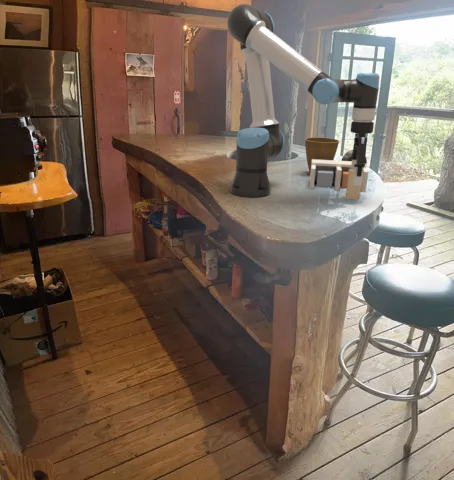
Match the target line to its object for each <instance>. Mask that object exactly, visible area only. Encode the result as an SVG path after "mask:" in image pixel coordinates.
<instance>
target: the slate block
mask: <svg viewBox="0 0 454 480" xmlns="http://www.w3.org/2000/svg"><path fill="white" fill-rule="evenodd" d="M332 180H333V170H318V173H317V181H316V183H317V184H316V187H317V188H328V187H329V188H332V187H333V182H332Z"/></svg>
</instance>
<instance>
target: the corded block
mask: <svg viewBox="0 0 454 480" xmlns="http://www.w3.org/2000/svg"><path fill="white" fill-rule="evenodd" d="M354 174H355V169H349V171H343V172H342V180H341V183H340V188H341V189H344V190H345V189H346V191H345V198H346V199H349V200H351V199H352V200H360V196H361V195H360V194H361V186H358V185H353V183H354Z"/></svg>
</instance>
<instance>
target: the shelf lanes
mask: <svg viewBox="0 0 454 480" xmlns="http://www.w3.org/2000/svg"><path fill="white" fill-rule="evenodd" d="M351 164H352V161H341V160H317V159H312V163H311V173H310V172H309V177H310V178H309V189H311V190H314V188H315V182H317V173H318V170H333V180H332V183H333V186H334V187H333V188H334V190H335V191H340V189H341V180H342V172H343V171H349V169H351ZM367 167H368V166H367V164H365V166H364V170H363V177H362V185H361V190H360V193H366V192H367V185H368V178H369V171H368V169H367Z"/></svg>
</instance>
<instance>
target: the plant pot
mask: <svg viewBox="0 0 454 480" xmlns="http://www.w3.org/2000/svg"><path fill="white" fill-rule="evenodd" d="M304 142H305V143H304V144H305V145H304V146H305V155H306V156H305V157H306V163H307V167H308V171H309V172H308V173H309V174H310V173H311V163H312V159H317V160H334V159H335V157H336V155H337V151H338V147H339V145H340V144H339V143H340V140H339V139H335V138H330V137H316V136H315V137H307V138H304Z"/></svg>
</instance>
